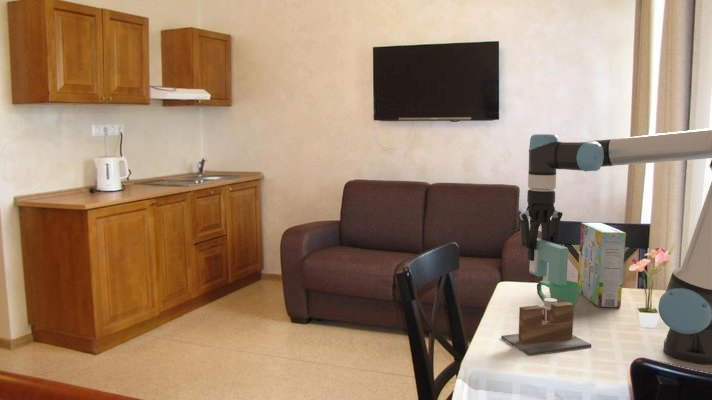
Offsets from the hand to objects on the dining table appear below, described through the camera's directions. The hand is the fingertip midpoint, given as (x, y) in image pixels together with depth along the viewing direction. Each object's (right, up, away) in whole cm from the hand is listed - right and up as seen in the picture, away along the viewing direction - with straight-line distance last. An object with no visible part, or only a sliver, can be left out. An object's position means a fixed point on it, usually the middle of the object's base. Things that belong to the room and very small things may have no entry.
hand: (538, 270), depth 183 cm
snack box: (+33, -15, +41) cm, 55 cm away
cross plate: (+1, -2, -4) cm, 5 cm away
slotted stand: (+2, -20, -2) cm, 20 cm away
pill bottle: (+7, -18, +12) cm, 23 cm away
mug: (+13, -17, +26) cm, 34 cm away
